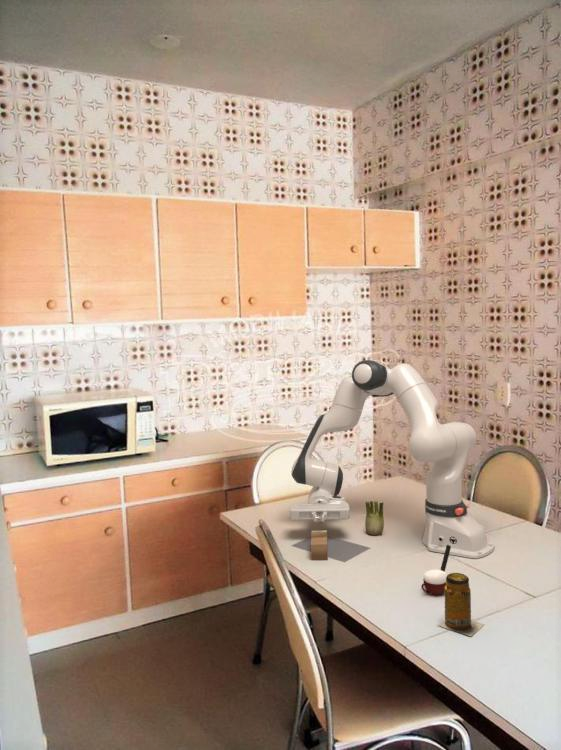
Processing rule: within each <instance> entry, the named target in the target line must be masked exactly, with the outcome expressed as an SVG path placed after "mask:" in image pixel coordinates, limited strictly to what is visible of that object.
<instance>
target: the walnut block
mask: <svg viewBox="0 0 561 750" xmlns="http://www.w3.org/2000/svg"><path fill="white" fill-rule="evenodd" d="M310 534H311V535H310V537H311V552H310V554H311V555H310V556H311V557H310V558H311V559H310V560H311V561H328V558H329V557H328V547H327V536H328V530H326V529H325V530H311V533H310Z"/></svg>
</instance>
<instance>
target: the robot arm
mask: <svg viewBox="0 0 561 750" xmlns="http://www.w3.org/2000/svg"><path fill="white" fill-rule="evenodd" d="M392 395H394V397H395V399H396V400H397V402H398V403H399V405H400V407H401V408H402V410H403V412H404V413H405V414H404V415H406V417H407V419H408V422H409V424H410V429H411V433H410V436H409V439H408V449H409V450H408V451H409V452H410V454H411V456H412V458H414V460H416V461H419V462H421V463H422V462H424V463H433V465H432V467H431V468H430V470H429V471H428V472H427V475H426V477H425V479H426V480H425V482H426V483H425V486H426V487H425V489H426V491H425V492H426V494H425V495H426V497H425V500H424V503H425V504H424V509H425V517H426V518H425V526H424V533H423V536H422V543H423V545H425V546H426V547H427V550H428V551H429V552H433V553H434V552H435V553H441V554H445V550H446V546H447V545H449V546H451V549H450V553H449V555H451V556H452V555H453V556H458V557H463V558H464V557H465V558H469V559H480V558H484V557H486V556H488V555H490V554H491V553H492V552H493V551H494V550H495V543H494V542H493V541H490V540H488V537H487V532H486V529H485V527H484V526H483V525H482V524H480V523H479V522H478V521H477V520H476V519H475V518H474V517H473V516H471V515H470V514H469V513H468V509H469V508H470V503H467V504H465V503H464V500H463V498H462V493H463V491H462V490H463V489H462V487H463V485H462V483H463V474H464V470H465V465H466V464H467V459H468V458H469V456H470V453H471V452H472V450H473V449H474V448H475V446H476V444H477V433H476V431H475V429H474V428H473V427H472V426H471V425H470V424H468V423H466V422H462V421H461V422H459V421H452V422H447V423H442V424H441V422H439V420H438V417H437V412H438V410H439V406H440V405H439V402H438V400H437V398H436V396H435V395H434V394H433V392H432V390H431V389H430V387H429V386H428V383H426V381H425V379H423V377H422V376H421V374H419V372H418V371H417V370H416V368H414V367H413V366H412V365H411V364H408V363H400V364H397V365H395V366H394V367H393V368H391V367H389V366H387V365H385V364H384V363H380V362H378V361H375V360H373V359H372V360H371V359H369V360H368V359H366V360H365V359H364V360H361V361H359V362H357V363H356V364H355V365H354V366H353V368H352V371H351V376H345V377H344V378H343V379H341V381H340V383H339V385H338V387H337V389H336V392H335V394H334V396H333V400H332V403H331V406H330V408H329V410H328V411H327V412H326V413H324V414H321V415H319V417H318V418H317V420H316V421H315V423H314V425H313V427H312V428H311V430H310V433H309V435H308V436H307V437H306V438H307V439H306V441H305V443H304V444H303V447H302V449H301V452H300V453H299V455H298V456H297V458H296V459H295V460H294V462H293V464H292V467H291V478H292V479H293V480H294V481H295V482H296V484H299V485H300V484H301V485H305V486H310V487H311V490H310V491H309V494H308V500H307V503H295V504H292V505H291V506H290V508H289V519H290V520H291V521H314V522H315V523H324V522H325V521H329V520H331V521H332V520H334V521H335V520H349V519H350V518H351V509H350V505H349V503H348V502H347V501H346V499H345V497H344V496H338V495H339V494H340V492H341V489H342V487H343V482H344V473H343V470H342V468H341V467H340V466H339V465H337V464H334V463H330V462H326V461H323V460H319V459H317V458H316V459H315V458H314V457H313V456H312V455H313V453H314V451H315V449H316V447H317V444H318V442H319V441H320V438H322V437H323V435H325V434H330V433H338V432H339V433H340V432H346V431H350V430H352V429H354V428H355V427H356V426H357V425H358V424H359V422H360V420H361V416H362V413H363V409H364V405H365V403H366V400H367V399H368V398H369V397H370V396H371V397H372V398H382V397H383V398H384V397H390V396H392Z"/></svg>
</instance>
